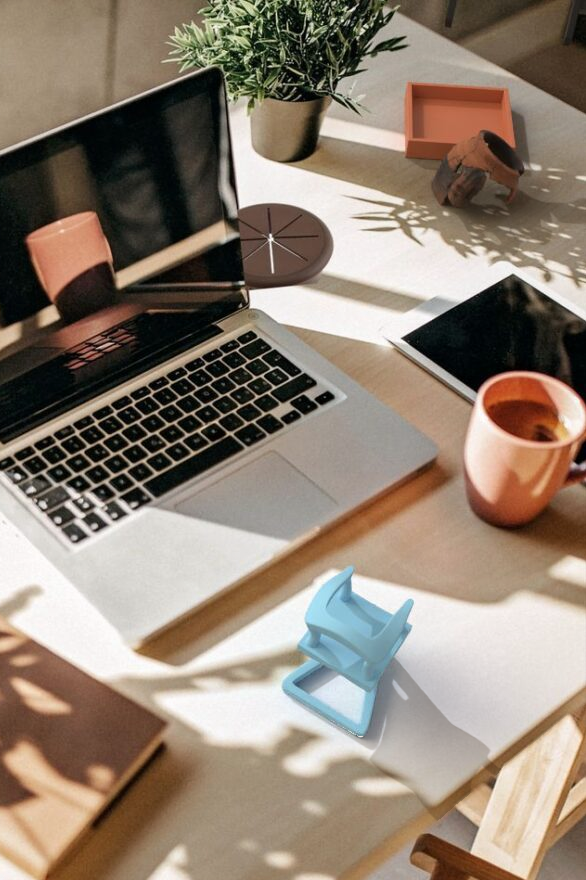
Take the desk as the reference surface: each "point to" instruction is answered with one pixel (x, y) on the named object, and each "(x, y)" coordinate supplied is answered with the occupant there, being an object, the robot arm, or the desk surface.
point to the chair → (348, 644)
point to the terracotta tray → (453, 117)
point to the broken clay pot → (476, 169)
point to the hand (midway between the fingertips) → (507, 33)
